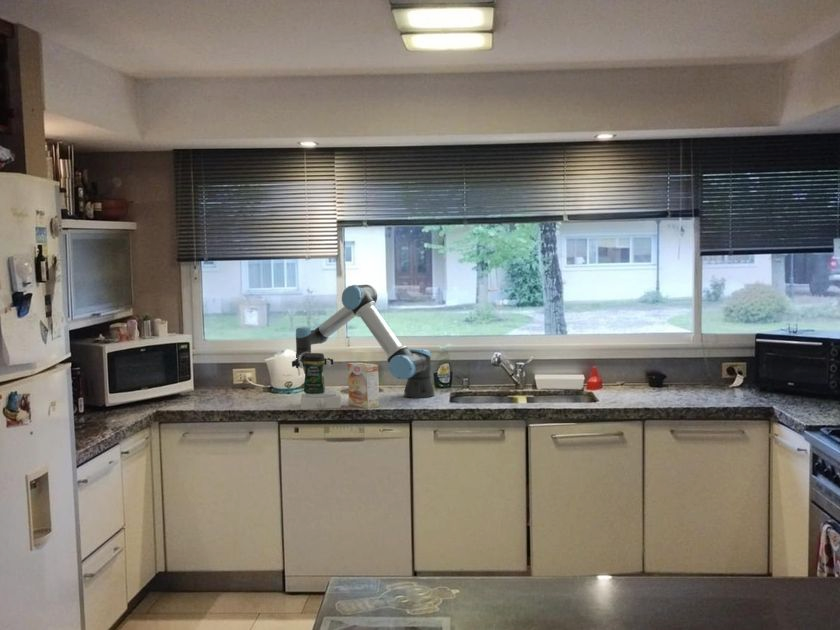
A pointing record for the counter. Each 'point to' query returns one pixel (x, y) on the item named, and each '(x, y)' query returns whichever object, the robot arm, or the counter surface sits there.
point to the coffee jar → (314, 373)
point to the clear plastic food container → (321, 400)
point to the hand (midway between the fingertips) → (316, 364)
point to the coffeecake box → (363, 385)
